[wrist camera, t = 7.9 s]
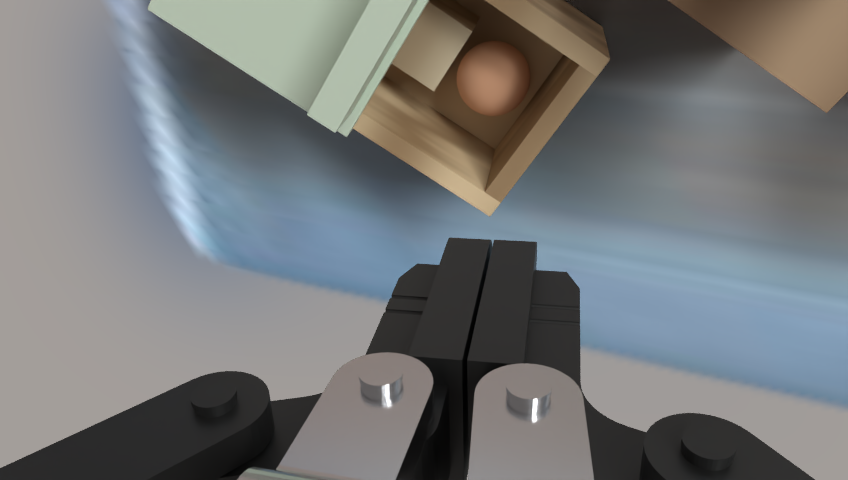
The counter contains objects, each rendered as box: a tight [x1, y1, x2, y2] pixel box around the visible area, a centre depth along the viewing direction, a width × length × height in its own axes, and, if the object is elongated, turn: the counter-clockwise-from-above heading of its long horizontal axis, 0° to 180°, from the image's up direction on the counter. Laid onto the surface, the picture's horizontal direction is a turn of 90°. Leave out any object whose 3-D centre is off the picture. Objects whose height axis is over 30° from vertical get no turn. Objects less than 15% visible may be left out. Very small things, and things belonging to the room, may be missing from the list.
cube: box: [392, 0, 480, 91], centre depth 31 cm, size 3×3×3 cm
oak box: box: [353, 0, 610, 216], centre depth 31 cm, size 9×8×6 cm
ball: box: [457, 41, 530, 116], centre depth 32 cm, size 3×3×3 cm
